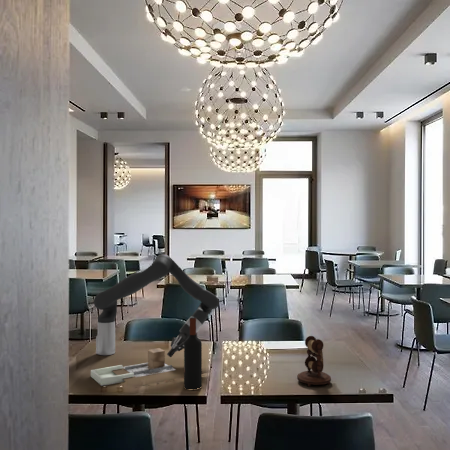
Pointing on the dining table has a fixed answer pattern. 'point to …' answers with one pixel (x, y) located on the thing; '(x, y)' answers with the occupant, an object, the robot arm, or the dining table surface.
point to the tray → (109, 375)
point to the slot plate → (147, 369)
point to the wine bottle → (192, 359)
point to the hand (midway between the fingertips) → (168, 355)
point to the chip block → (156, 358)
